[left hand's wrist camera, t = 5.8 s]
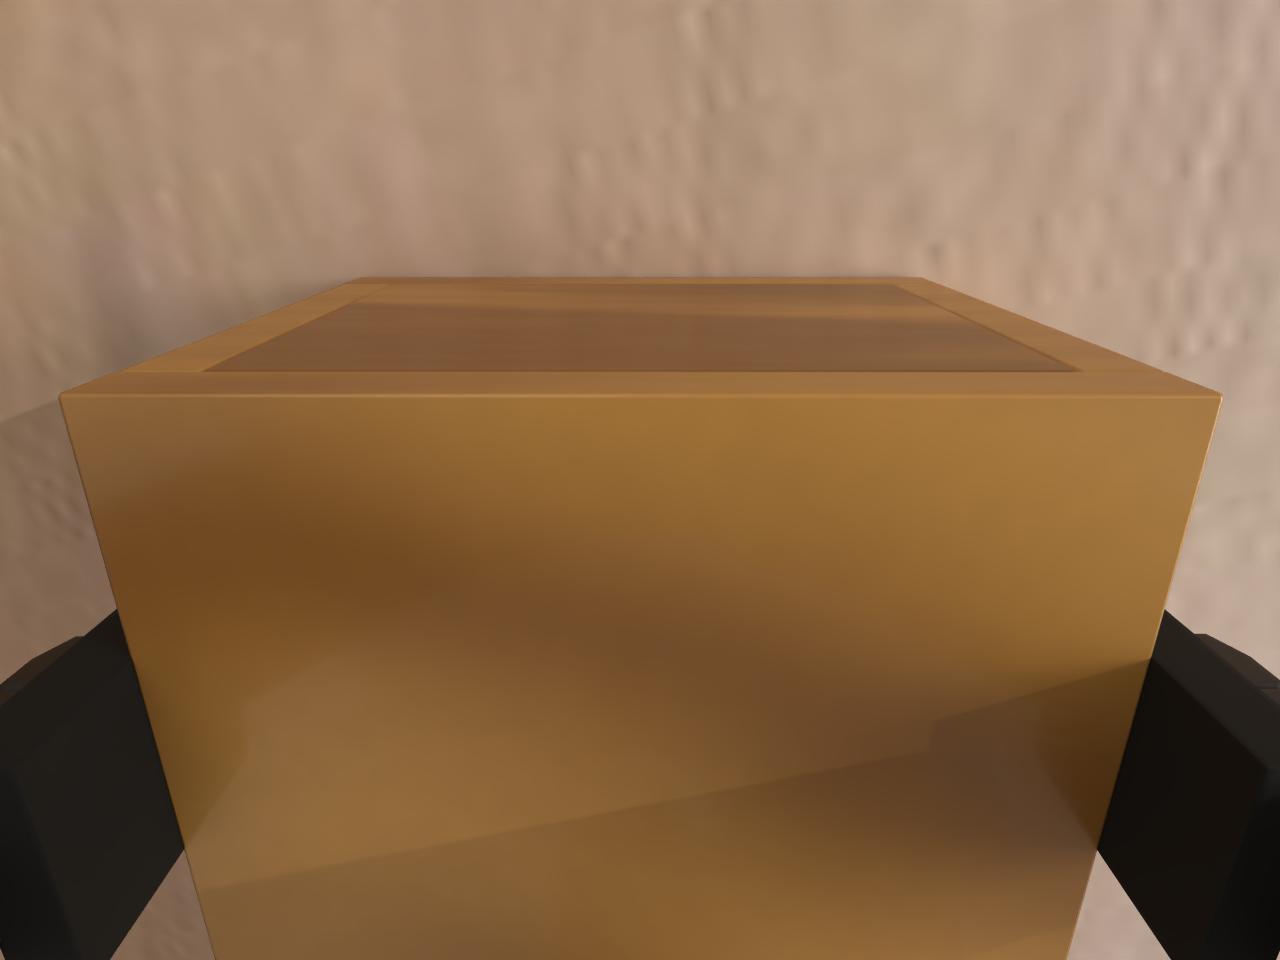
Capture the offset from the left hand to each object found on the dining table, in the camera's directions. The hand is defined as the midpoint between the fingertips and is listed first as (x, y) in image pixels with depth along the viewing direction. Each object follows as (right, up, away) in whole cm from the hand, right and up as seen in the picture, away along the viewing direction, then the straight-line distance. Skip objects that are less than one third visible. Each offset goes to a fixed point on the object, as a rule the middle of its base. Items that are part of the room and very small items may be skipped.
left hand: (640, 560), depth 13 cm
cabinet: (0, -5, +6) cm, 8 cm away
